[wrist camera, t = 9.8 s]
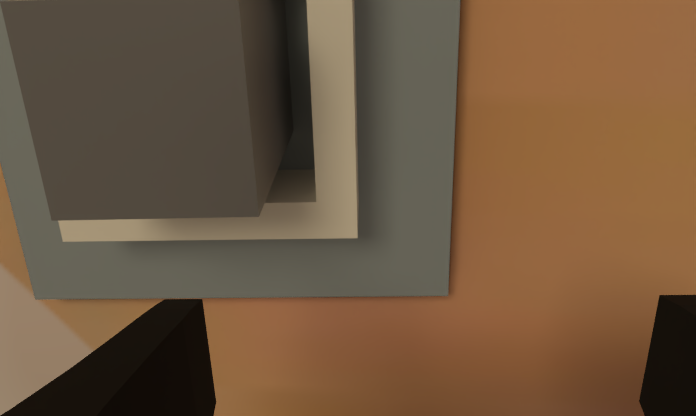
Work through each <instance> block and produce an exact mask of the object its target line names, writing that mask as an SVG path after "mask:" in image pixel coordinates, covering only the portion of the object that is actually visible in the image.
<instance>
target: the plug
mask: <svg viewBox="0 0 696 416" xmlns="http://www.w3.org/2000/svg"><path fill="white" fill-rule="evenodd" d="M0 4H1V9H2V13H3V17H4V21H5V26H6V30H7V34H8V38H9V43H10V47H11V51H12V55H13V59H14V64H15V68H16V72H17V76H18V81H19V85H20V89H21V93H22V97H23V102H24V106H25V110H26V114H27V119H28V123H29V127H30V131H31V136H32V140H33V144H34V148H35V152H36V157H37V161H38V165H39V169H40V174H41V178H42V182H43V186H44V191H45V195H46V199H47V203H48V207H49V212H50V216H51V220H52V221H62V220H116V219H170V218H223V217H259V216H260V213H261V211H262V208H263V206H264V203H265V201H266V198H267V196H268V193H269V191H270V188H271V186H272V183H273V181H274V178H275V176H276V173H277V171H278V168H279V166H280V163H281V161H282V158H283V156H284V153H285V151H286V148H287V146H288V143H289V141H290V138H291V136H292V133H293V117H292V102H291V87H290V73H289V58H288V43H287V28H286V14H285V0H6V1H0Z"/></svg>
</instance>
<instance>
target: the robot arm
mask: <svg viewBox="0 0 696 416" xmlns="http://www.w3.org/2000/svg"><path fill="white" fill-rule="evenodd" d="M639 402H640V404H641V407H642V409H643V412H644V415H645V416H696V295H660V296H659V301H658V306H657V312H656V317H655V322H654V327H653V332H652V338H651V343H650V348H649V353H648V358H647V364H646V369H645V374H644V379H643V384H642V389H641V395H640V400H639ZM215 405H216V398H215V391H214V383H213V376H212V368H211V361H210V353H209V346H208V339H207V331H206V324H205V316H204V309H203V302H202V299H165V300H163V301H162V302H160V303H158V304H157V305H155V306H154V307H153V308H151V309H150V310H148V311H147V312H146V313H144V314H143V315H141V316H140V317H139V318H137V319H136V320H135V321H133V322H132V323H131V324H129V325H128V326H127V327H125V328H124V329H123V330H122V331H120V332H119V333H118V334H116V335H115V336H114V337H112V338H111V339H110V340H108V341H107V342H106V343H104V344H103V345H102V346H100V347H99V348H97V349H96V350H95V351H93V352H92V353H91V354H89V355H88V356H87V357H85V358H84V359H83V360H81V361H80V362H79V363H77V364H76V365H75V366H73V367H72V368H70V369H69V370H68V371H66V372H65V373H63V374H62V375H60V376H59V377H57V378H56V379H54V380H53V381H51V382H50V383H48V384H47V385H45V386H44V387H43V388H41V389H40V390H38V391H37V392H35V393H34V394H32V395H31V396H30V397H28V398H27V399H25V400H23V401H22V402H20V403H19V404H18V405H16V406H15V407H13V408H12V409H10V410H9V411H7V412H5V413H4V414H2V415H1V416H213V415H214V410H215Z"/></svg>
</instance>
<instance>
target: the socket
mask: <svg viewBox="0 0 696 416" xmlns="http://www.w3.org/2000/svg"><path fill="white" fill-rule="evenodd" d="M0 1H6V0H0ZM285 14H286V28H287V43H288V58H289V73H290V87H291V102H292V117H293V133H292V136H291V138H290V141H289V143H288V146H287V148H286V151H285V153H284V156H283V158H282V161H281V163H280V166H279V168H278V171H277V173H276V176H275V178H274V181H273V183H272V186H271V188H270V191H269V193H268V196H267V198H266V201H265V203H264V206H263V208H262V211H261V213H260V216H259V217H223V218H170V219H116V220H62V221H52V220H51V216H50V212H49V207H48V203H47V199H46V195H45V191H44V186H43V182H42V178H41V174H40V169H39V165H38V161H37V157H36V152H35V148H34V144H33V140H32V136H31V131H30V127H29V123H28V119H27V114H26V110H25V106H24V102H23V97H22V93H21V89H20V85H19V81H18V76H17V72H16V68H15V64H14V59H13V55H12V51H11V47H10V43H9V38H8V34H7V30H6V26H5V21H4V17H3V13H2V9H1V4H0V163H1V167H2V171H3V175H4V179H5V183H6V187H7V190H8V194H9V198H10V202H11V206H12V210H13V214H14V218H15V222H16V226H17V230H18V234H19V238H20V241H21V245H22V249H23V253H24V257H25V261H26V265H27V269H28V273H29V277H30V281H31V285H32V289H33V293H34V296H35V299H142V298H260V297H377V296H448V286H449V262H450V238H451V214H452V190H453V166H454V142H455V117H456V93H457V69H458V45H459V21H460V0H285Z"/></svg>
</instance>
